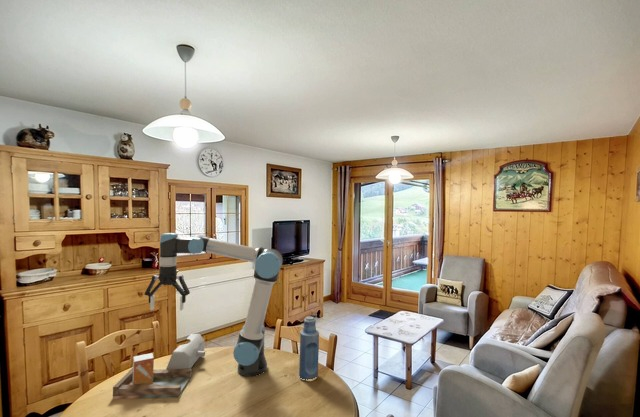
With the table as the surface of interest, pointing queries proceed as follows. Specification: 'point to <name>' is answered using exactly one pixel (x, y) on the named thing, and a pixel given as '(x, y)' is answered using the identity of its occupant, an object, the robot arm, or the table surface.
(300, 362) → the bottle
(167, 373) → the board
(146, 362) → the small box
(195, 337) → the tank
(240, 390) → the table surface
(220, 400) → the table surface
